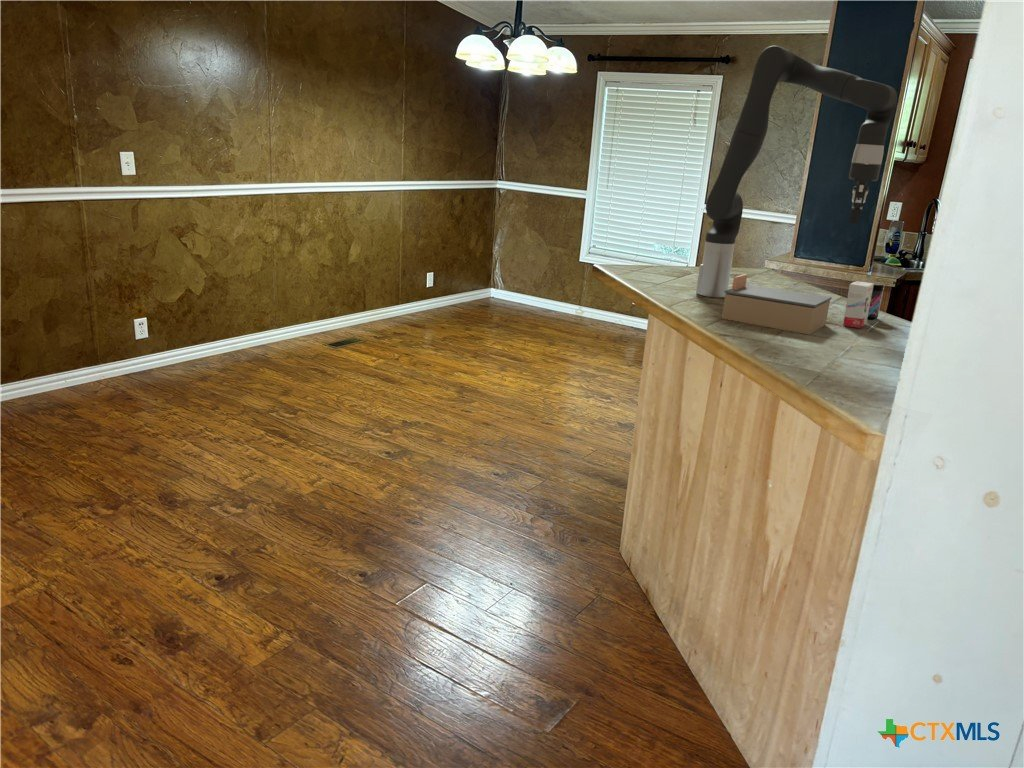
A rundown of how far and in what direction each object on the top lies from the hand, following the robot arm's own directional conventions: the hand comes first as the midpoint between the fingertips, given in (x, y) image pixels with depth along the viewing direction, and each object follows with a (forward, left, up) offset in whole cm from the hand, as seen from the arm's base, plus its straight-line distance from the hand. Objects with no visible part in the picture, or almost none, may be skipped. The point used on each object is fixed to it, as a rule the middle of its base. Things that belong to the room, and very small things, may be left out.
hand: (853, 221), depth 208 cm
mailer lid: (-11, -22, -20) cm, 32 cm away
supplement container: (+7, +7, -28) cm, 30 cm away
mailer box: (-11, -22, -28) cm, 37 cm away
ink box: (+7, -7, -28) cm, 30 cm away
